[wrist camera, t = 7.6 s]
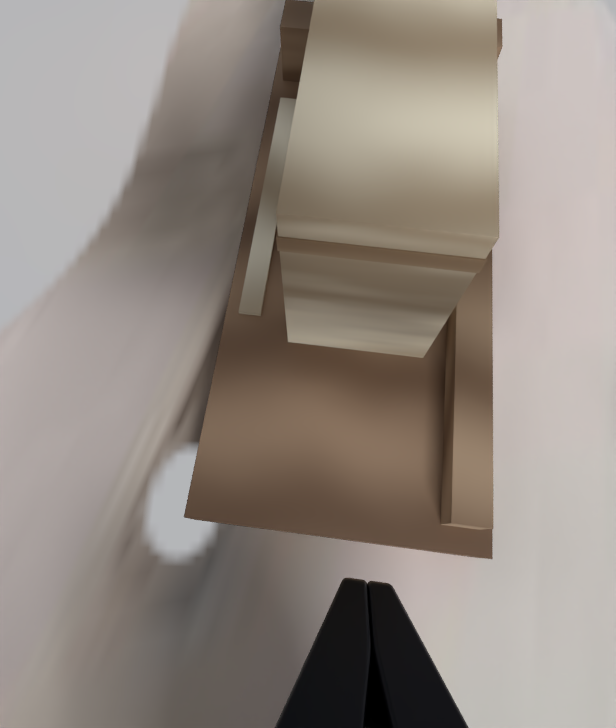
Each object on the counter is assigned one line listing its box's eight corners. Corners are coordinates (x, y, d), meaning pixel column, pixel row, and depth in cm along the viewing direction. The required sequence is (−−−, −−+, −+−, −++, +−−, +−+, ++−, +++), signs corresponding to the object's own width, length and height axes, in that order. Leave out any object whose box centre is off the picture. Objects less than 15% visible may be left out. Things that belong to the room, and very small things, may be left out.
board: (475, 557, 20) (528, 562, 16) (194, 519, 21) (160, 512, 16) (478, 97, 29) (513, 9, 24) (282, 78, 30) (277, -12, 25)
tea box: (423, 359, 21) (501, 239, 13) (286, 342, 22) (273, 214, 13) (435, 130, 26) (497, -70, 17) (321, 119, 26) (328, -83, 18)
